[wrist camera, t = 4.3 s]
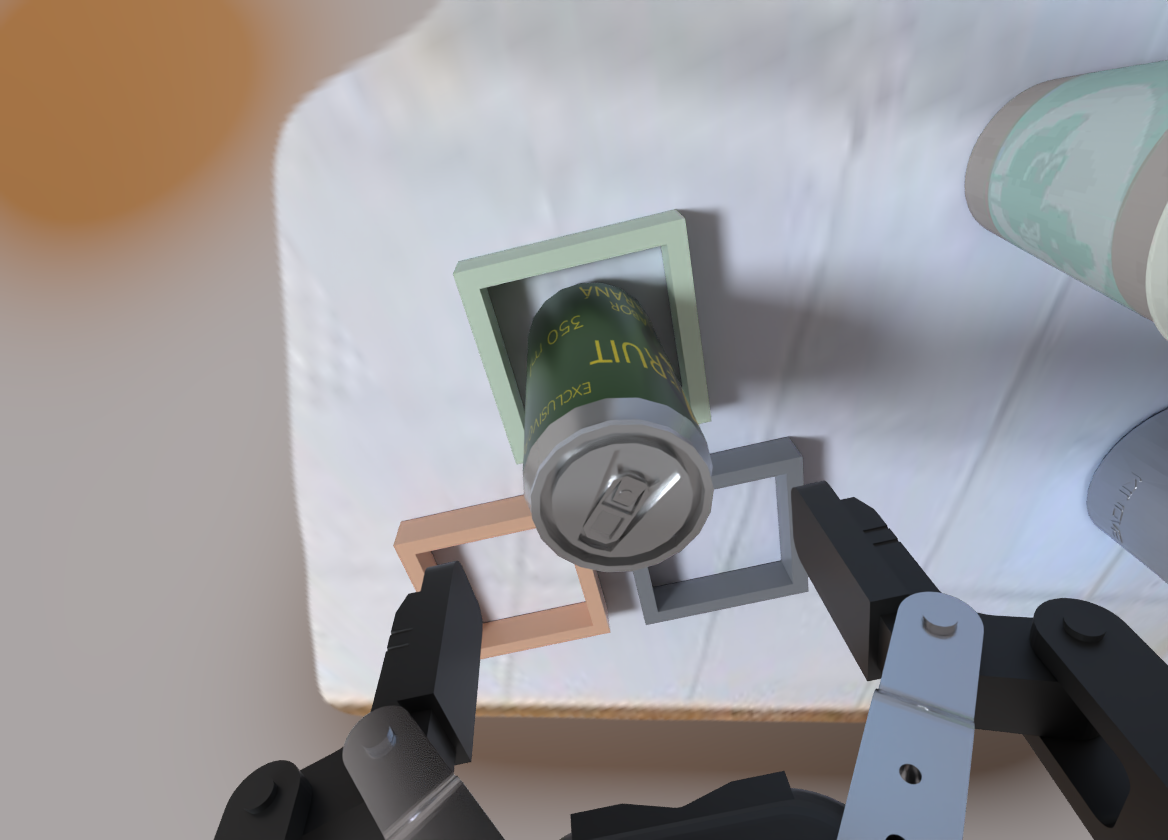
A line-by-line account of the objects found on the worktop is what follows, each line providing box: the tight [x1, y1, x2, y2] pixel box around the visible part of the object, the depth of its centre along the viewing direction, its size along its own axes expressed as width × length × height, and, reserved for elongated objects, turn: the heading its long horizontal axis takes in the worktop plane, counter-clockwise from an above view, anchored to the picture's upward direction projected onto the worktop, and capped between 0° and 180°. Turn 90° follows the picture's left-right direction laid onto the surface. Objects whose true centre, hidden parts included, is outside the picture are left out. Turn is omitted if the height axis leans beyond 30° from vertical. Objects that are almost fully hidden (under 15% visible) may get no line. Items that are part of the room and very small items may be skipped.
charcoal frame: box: [633, 437, 808, 625], centre depth 31 cm, size 9×9×2 cm
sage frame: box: [453, 209, 711, 464], centre depth 26 cm, size 9×9×2 cm
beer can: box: [523, 283, 714, 572], centre depth 21 cm, size 5×5×12 cm
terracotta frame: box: [393, 495, 610, 659], centre depth 32 cm, size 9×9×2 cm
